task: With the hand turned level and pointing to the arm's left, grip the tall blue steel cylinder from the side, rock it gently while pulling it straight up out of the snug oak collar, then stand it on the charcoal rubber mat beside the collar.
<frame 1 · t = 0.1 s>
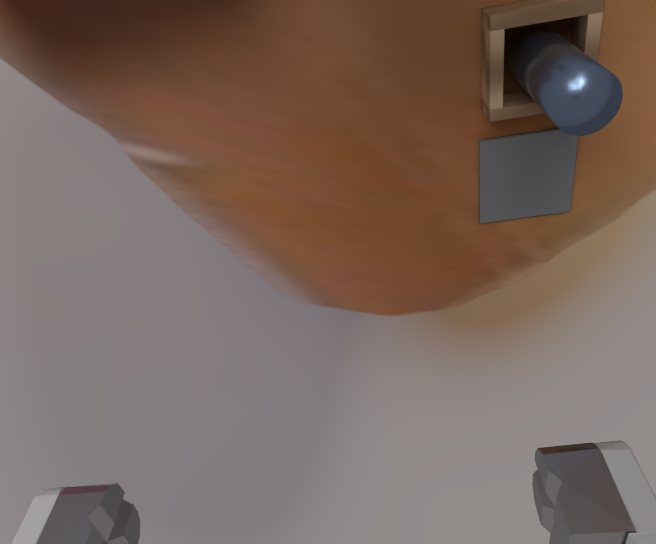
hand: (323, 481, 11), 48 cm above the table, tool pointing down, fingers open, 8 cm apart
tall blue steel cylinder: (556, 75, 46), in the oak collar
oak collar: (532, 53, 51), on the table
charcoal mat: (525, 176, 59), on the table
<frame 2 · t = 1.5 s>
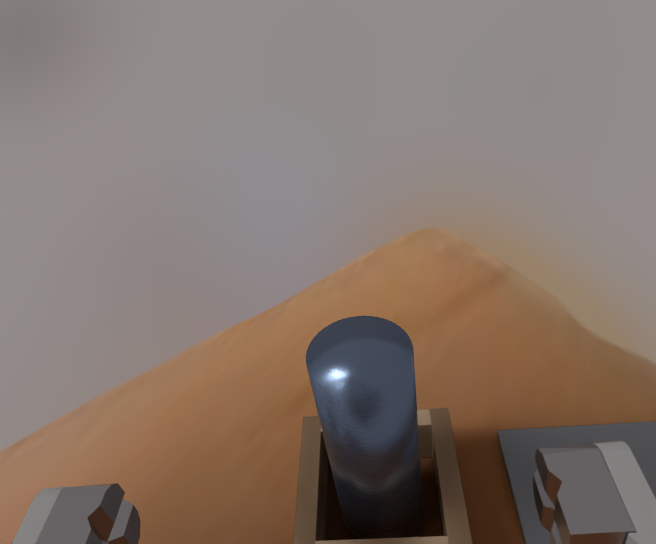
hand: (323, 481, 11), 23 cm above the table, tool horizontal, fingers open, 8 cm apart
tall blue steel cylinder: (372, 442, 29), in the oak collar
oak collar: (382, 510, 34), on the table
charcoal mat: (601, 500, 32), on the table
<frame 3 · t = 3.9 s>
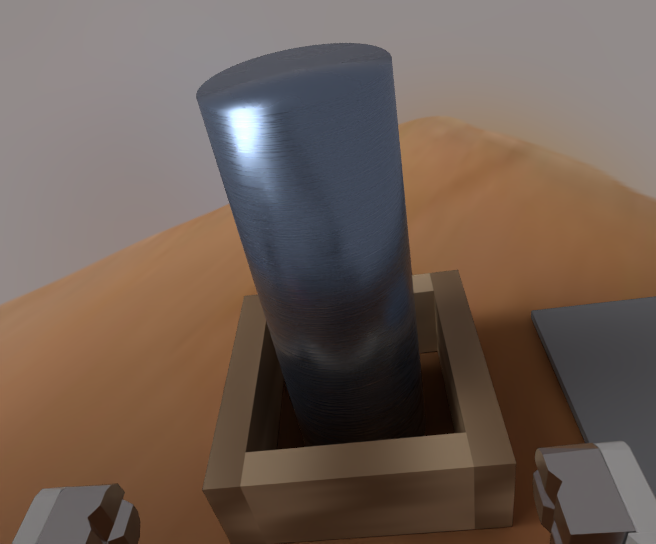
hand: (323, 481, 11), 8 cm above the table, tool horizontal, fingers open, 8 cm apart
tall blue steel cylinder: (336, 287, 18), in the oak collar
oak collar: (363, 422, 22), on the table
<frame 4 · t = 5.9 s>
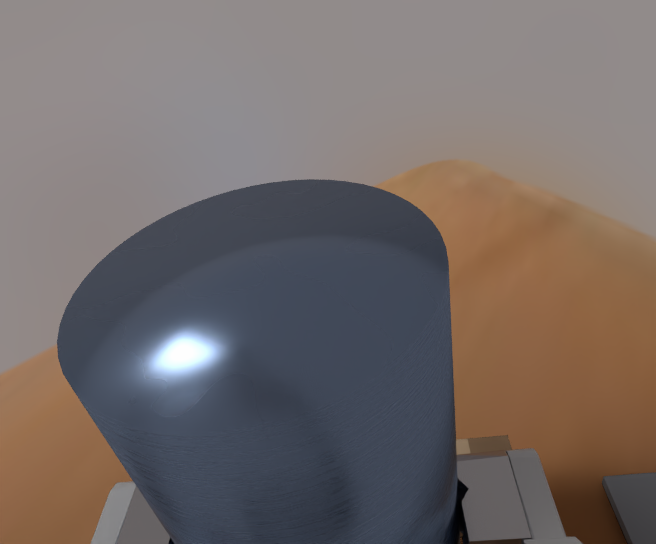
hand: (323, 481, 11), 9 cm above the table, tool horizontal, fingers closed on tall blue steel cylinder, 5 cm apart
tall blue steel cylinder: (335, 541, 11), in the oak collar, touching gripper
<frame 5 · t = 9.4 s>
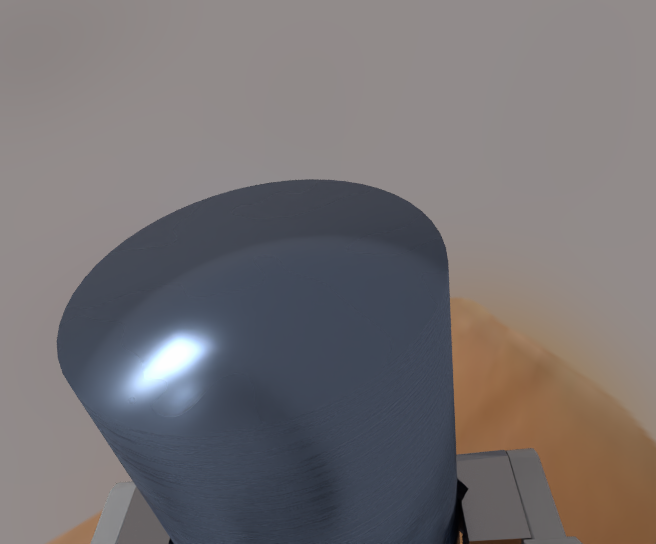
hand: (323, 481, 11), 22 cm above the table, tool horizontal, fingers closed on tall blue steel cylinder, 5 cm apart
tall blue steel cylinder: (335, 541, 11), point 20 cm above the table, touching gripper
when the fingers open (10 cm above the table, at t = 12.9 s): tall blue steel cylinder drops 1 cm, resting on charcoal mat.
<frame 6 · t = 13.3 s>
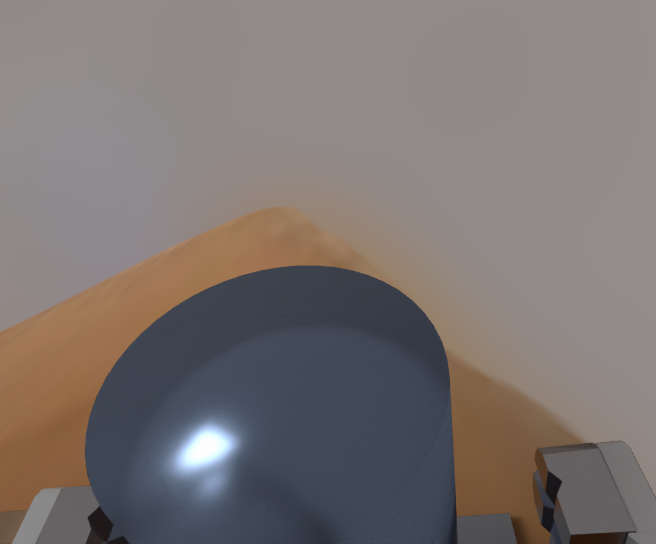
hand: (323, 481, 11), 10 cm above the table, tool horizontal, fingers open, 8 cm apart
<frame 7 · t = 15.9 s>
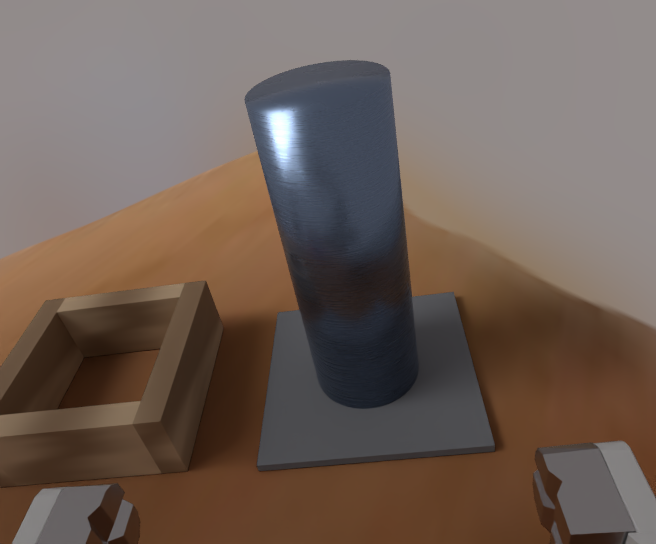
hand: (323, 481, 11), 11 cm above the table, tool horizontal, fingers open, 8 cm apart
tall blue steel cylinder: (346, 252, 23), on the charcoal mat
oak collar: (121, 398, 28), on the table
charcoal mat: (368, 373, 27), on the table
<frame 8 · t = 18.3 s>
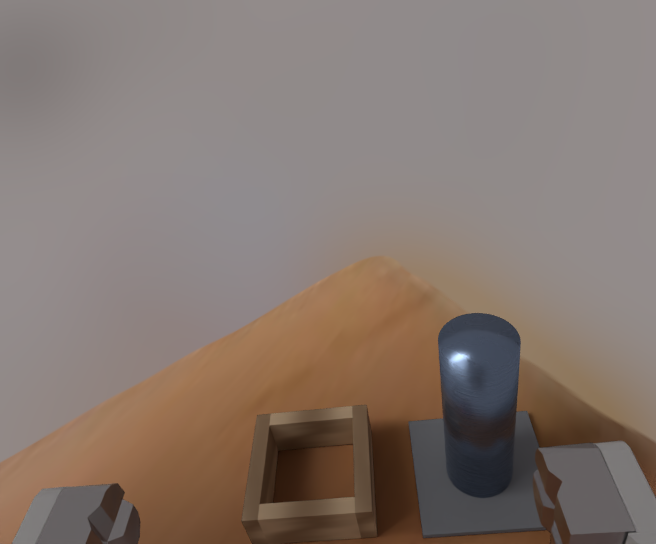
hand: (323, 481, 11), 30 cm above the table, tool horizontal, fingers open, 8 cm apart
tall blue steel cylinder: (478, 410, 38), on the charcoal mat
oak collar: (316, 483, 44), on the table
charcoal mat: (479, 470, 43), on the table
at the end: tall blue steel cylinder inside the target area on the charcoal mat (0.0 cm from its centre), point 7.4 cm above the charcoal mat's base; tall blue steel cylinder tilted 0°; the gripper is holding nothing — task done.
